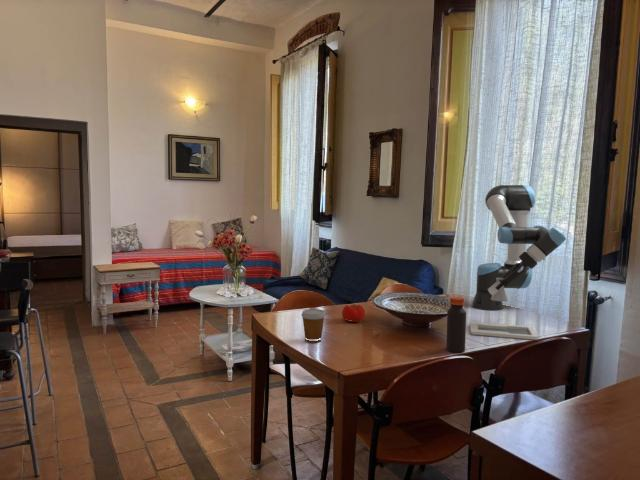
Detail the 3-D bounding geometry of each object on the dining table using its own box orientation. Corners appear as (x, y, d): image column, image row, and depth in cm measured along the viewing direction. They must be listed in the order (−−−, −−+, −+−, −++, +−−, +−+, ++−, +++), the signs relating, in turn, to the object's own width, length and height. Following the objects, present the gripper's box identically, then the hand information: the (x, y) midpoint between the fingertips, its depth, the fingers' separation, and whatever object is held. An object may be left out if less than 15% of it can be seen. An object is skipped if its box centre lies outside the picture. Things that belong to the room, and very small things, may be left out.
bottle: (467, 353, 171) (469, 300, 169) (449, 353, 170) (451, 300, 169) (460, 347, 178) (462, 296, 176) (443, 347, 177) (445, 296, 175)
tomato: (346, 324, 209) (346, 308, 209) (339, 318, 220) (339, 303, 219) (368, 323, 212) (368, 307, 211) (360, 317, 222) (361, 302, 222)
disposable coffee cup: (327, 344, 181) (327, 313, 180) (303, 345, 179) (303, 314, 178) (322, 336, 190) (323, 308, 189) (300, 337, 189) (300, 309, 188)
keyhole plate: (469, 325, 210) (470, 321, 210) (532, 330, 202) (532, 326, 202) (471, 334, 194) (471, 331, 194) (538, 340, 187) (538, 336, 187)
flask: (509, 302, 201) (509, 279, 200) (491, 301, 202) (492, 279, 202) (506, 299, 208) (506, 277, 207) (489, 298, 210) (489, 276, 209)
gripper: (541, 265, 191) (497, 302, 197) (535, 261, 208) (495, 295, 214) (528, 252, 192) (484, 289, 198) (522, 249, 209) (483, 283, 215)
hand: (490, 292), depth 206 cm, fingers closed on flask, 4 cm apart
